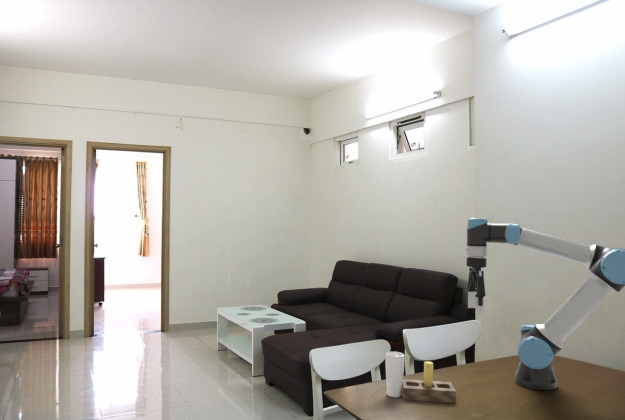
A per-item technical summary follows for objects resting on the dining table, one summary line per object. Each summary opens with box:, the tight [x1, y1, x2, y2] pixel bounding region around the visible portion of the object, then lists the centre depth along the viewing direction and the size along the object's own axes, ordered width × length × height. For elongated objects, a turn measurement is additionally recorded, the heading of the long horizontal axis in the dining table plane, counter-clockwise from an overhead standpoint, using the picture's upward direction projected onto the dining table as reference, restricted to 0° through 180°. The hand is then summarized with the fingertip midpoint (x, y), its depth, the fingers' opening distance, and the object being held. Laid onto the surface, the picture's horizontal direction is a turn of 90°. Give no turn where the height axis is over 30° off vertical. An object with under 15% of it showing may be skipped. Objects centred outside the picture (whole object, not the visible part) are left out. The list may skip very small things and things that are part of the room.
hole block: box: [401, 378, 457, 404], centre depth 177 cm, size 18×10×4 cm, turn 84°
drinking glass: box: [384, 351, 405, 398], centre depth 177 cm, size 7×7×15 cm
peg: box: [423, 361, 434, 387], centre depth 178 cm, size 3×3×12 cm
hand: (475, 310), depth 193 cm, fingers open, 13 cm apart
